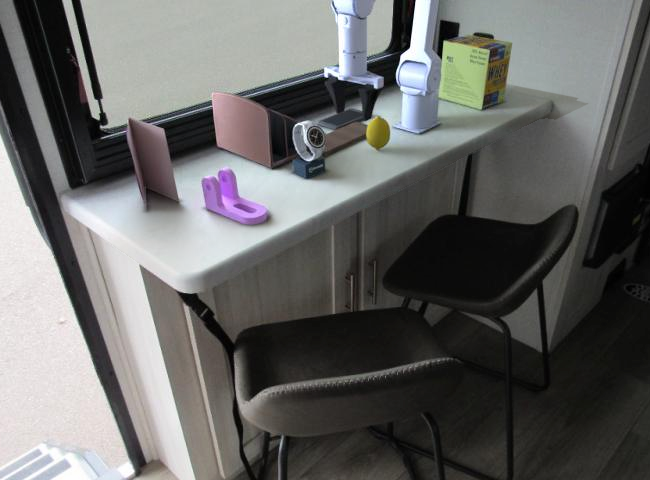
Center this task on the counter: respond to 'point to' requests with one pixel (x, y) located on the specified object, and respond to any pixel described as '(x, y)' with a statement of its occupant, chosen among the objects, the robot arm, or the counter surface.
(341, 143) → the back board
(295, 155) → the letter holder
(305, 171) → the watch
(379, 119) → the lemon
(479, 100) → the protein box
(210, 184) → the bracket
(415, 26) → the robot arm
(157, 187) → the greeting card
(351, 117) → the cell phone
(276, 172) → the counter surface
